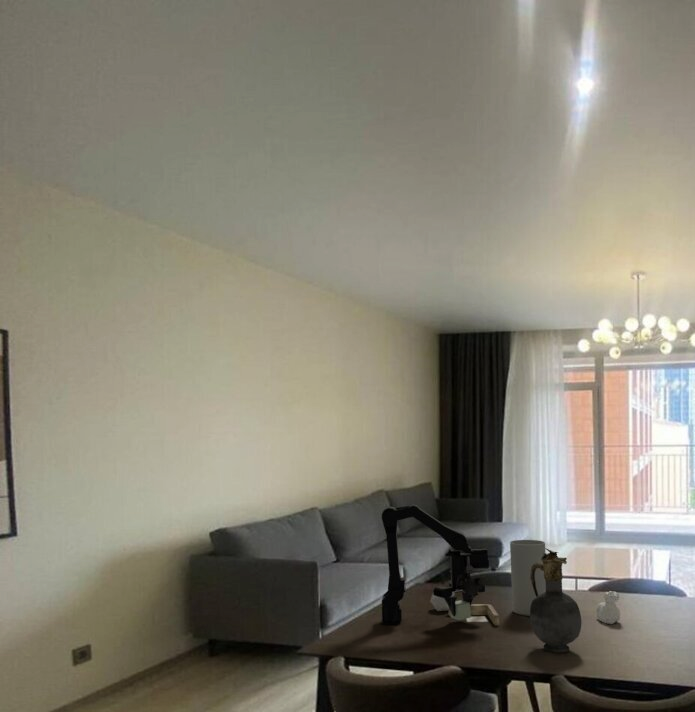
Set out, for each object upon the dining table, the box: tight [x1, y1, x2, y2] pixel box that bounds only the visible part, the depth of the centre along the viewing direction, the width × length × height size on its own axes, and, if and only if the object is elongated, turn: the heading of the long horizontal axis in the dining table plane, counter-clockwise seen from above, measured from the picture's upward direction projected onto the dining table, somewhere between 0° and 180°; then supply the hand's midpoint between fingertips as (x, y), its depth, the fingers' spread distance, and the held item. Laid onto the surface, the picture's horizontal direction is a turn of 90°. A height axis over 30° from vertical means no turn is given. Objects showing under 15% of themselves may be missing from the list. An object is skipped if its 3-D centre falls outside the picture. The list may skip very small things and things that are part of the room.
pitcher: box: [529, 547, 582, 654], centre depth 240 cm, size 11×19×30 cm, turn 22°
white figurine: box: [595, 590, 621, 625], centre depth 268 cm, size 12×8×11 cm
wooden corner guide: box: [447, 603, 500, 627], centre depth 274 cm, size 15×16×4 cm
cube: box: [450, 599, 472, 621], centre depth 271 cm, size 5×5×5 cm
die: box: [429, 593, 449, 612], centre depth 290 cm, size 8×9×10 cm
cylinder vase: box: [509, 539, 547, 617], centre depth 284 cm, size 12×12×25 cm
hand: (460, 614), depth 271 cm, fingers closed on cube, 5 cm apart
